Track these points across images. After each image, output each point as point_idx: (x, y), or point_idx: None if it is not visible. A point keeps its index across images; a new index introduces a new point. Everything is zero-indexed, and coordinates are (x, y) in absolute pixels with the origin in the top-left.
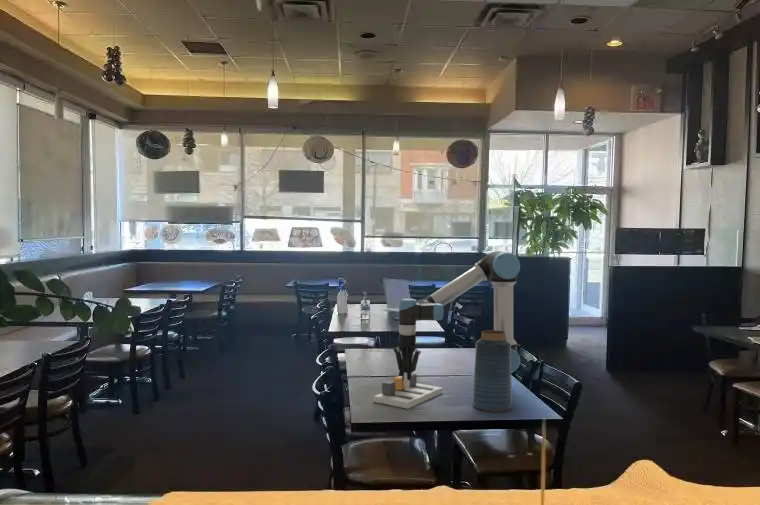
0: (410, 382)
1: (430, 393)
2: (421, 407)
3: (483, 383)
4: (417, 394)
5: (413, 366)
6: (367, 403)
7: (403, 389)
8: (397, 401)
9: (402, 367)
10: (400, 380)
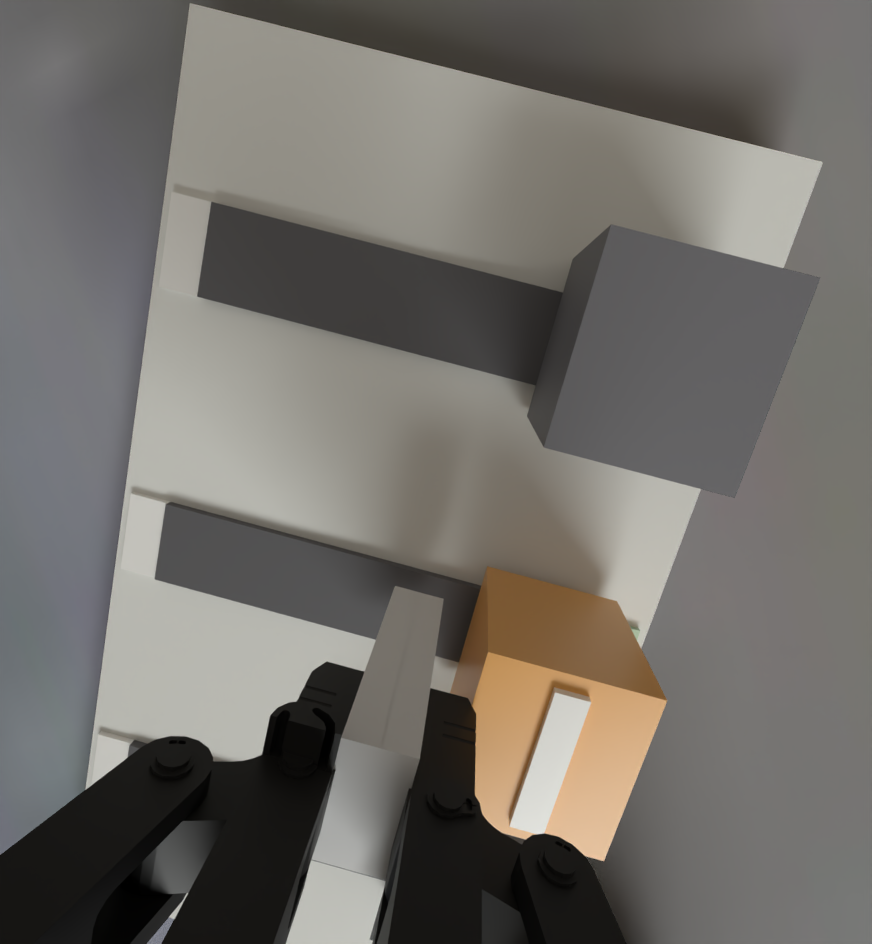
0: None
1: (111, 630)
2: (101, 191)
3: None
4: (227, 502)
5: (14, 859)
6: (856, 60)
7: None
8: (383, 57)
9: (461, 891)
10: (496, 639)
